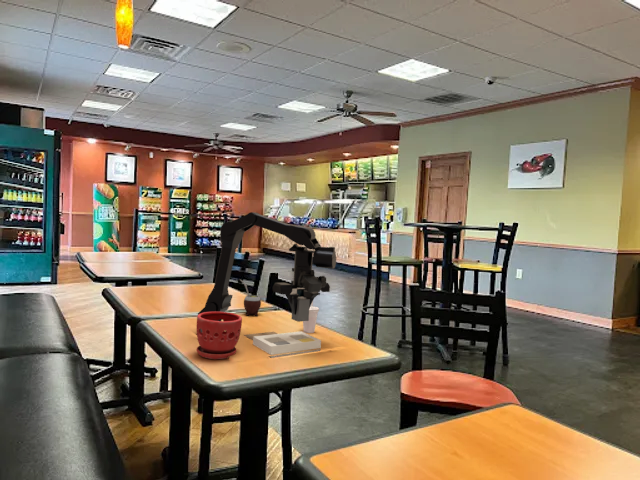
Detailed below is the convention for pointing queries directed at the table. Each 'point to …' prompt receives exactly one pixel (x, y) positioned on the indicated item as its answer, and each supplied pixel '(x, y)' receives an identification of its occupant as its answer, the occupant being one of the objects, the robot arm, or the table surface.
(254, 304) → the mate gourd
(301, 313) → the plug
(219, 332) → the plant pot
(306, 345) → the socket block
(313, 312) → the smoothie
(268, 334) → the deck
